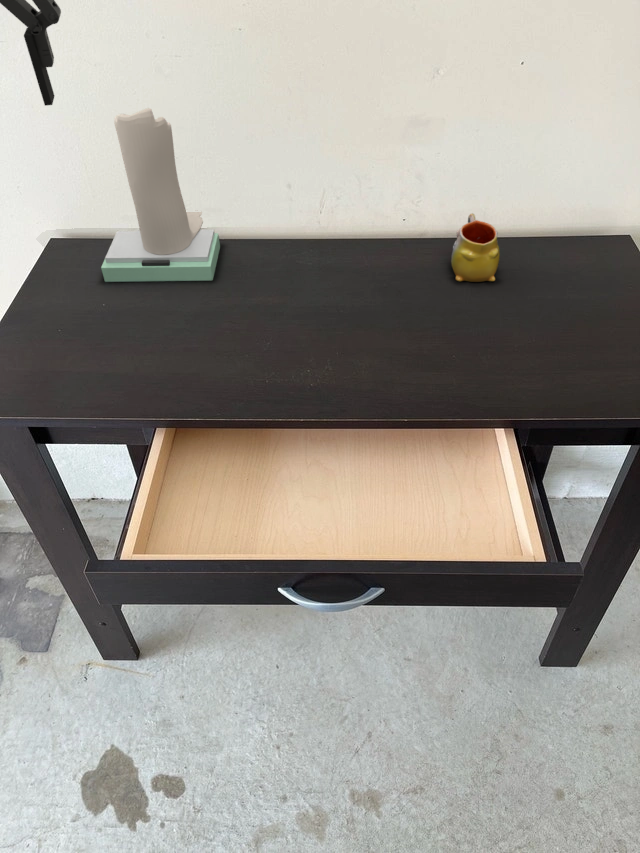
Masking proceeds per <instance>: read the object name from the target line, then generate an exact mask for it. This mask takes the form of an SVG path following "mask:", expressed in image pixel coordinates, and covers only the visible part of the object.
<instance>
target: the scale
mask: <svg viewBox="0 0 640 853" xmlns="http://www.w3.org/2000/svg"><path fill="white" fill-rule="evenodd" d="M219 235H220V234H219V233H218V232H215V229H213V228H209V229H200V230H199V232H198V233H197V235H196V236H195V237H194V239H193V240H192V242H191V243H190V245H189V246H188V247H187V248H186V249H184V250H182V251H180V252H177V253H173V254H167V255H158V254H153V253H150V252H148V251H146V250H145V249H144V247H143V243H142V239H141V234H140V229H136V230H130V229H129V230H117V231H116V233H115V235H114V237H113V240H112V242H111V244H110V245H109V248H108V251H107V253H106V255H105V257H104V260H103V262H102V265H101V267H100V270H101V273H102V276H103V279H104V282H105V283H114V282H116V283H117V282H118V283H121V282H123V283H124V282H126V283H127V282H195V281H196V282H200V281H201V282H203V281H204V282H205V281H209V282H210V281H213V280H214V276H215V273H216V267H217V263H218V259H219V254H220V249H221V242H220V236H219Z"/></svg>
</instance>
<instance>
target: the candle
mask: <svg viewBox="0 0 640 853" xmlns="http://www.w3.org/2000/svg"><path fill="white" fill-rule="evenodd" d="M113 123H114V127H115V131H116V136H117V140H118V144H119V147H120V152H121V156H122V162H123V165H124V169H125V175H126V177H127V182H128V186H129V190H130V194H131V197H132V202H133V205H134V208H135V213H136V219H137V224H138V227H139V229H138V230H140V234H141V239H142V243H143V247H144V249H145V250H146V251H148V252H150V253H153V254H158V255H167V254H173V253H177V252H180V251H182V250H184V249H186V248H187V247H188V246H189V245H190V243H191V242H192V240H193V239H194V237H195V236H196V235H197V233H198V232H199V230H202V226H203V223H204V220H203V217H201V216H202V215H203V211H201V212H186V210H187V209H186V206H185V201H184V198H183V195H182V190H181V186H180V182H179V178H178V172H177V165H176V159H175V158H176V156H175V148H174V138H173V129H172V124H171V123H170V122H168V121H167V120H166V118H165V117H164V116H158V117H157V118H155V115H154V113H153V110H152V108H150V107H147V108H143V109H141V110H139V111H137V112H134V113H132V114H126V113H118V114H116V115H115V116H114V120H113Z"/></svg>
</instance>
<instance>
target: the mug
mask: <svg viewBox="0 0 640 853" xmlns="http://www.w3.org/2000/svg"><path fill="white" fill-rule="evenodd" d="M498 235H499V232H498V231H497V229H496V228H495V227H494V225H492V224H490V223H488V222H485V221H481V220H479V219H476V215H475V213H473V212H472V213H470V214H469V215H468V217H467V223H465V224H463V225H462V226H461V227H460V228H459V229H458V230H457V231H456V239H455V241H454V243H453V245H452V252H451V256H450V265H451V268H452V272H453V273H454V275H455V281H457V282H471V283H482V282H495V281H496V277H495V274H496V273H497V271H498V268H499V265H500V259H501V258H500V257H501V252H500V245H499V241H498Z"/></svg>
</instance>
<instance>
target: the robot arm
mask: <svg viewBox="0 0 640 853" xmlns="http://www.w3.org/2000/svg"><path fill="white" fill-rule="evenodd" d="M31 1H32V2H33V4H34V5H35V6H36V7H37V9H38V10H39V11H38V10H37V9H36V8H34V6H32V5H31V3H30V2H28V0H0V4H1V6H2V7H4V8H5V9H6V10H7V11H8V12H9V13H11V14H12V16H14V17H15V18H16V19H17V20H19V21H20V23H22V24H23V25H24V26H25V27H26V29H25V31H24V34H23V39H24V41H25V45H26V48H27V52H28V55H29V58H30V61H31V64H32V68H33V71H34V74H35V77H36V81H37V85H38V88H39V91H40V94H41V97H42V101H43V105H44V106H53V104H54V101H55V100H54V99H55V93H54V90H53V86H52V83H51V79H50V75H49V72H48V69H47V68H52V67H53V66H54V63H55V62H54V61H55V56H54V51H53V49H52V45H51V42H50V37H49V35H48V30H47V28H49V27H51V26H53V25H57V24H58V22H59V21H60V18H61V14H62V9H61V8H60V6H59V4H58V3H57V1H56V0H31Z"/></svg>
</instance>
